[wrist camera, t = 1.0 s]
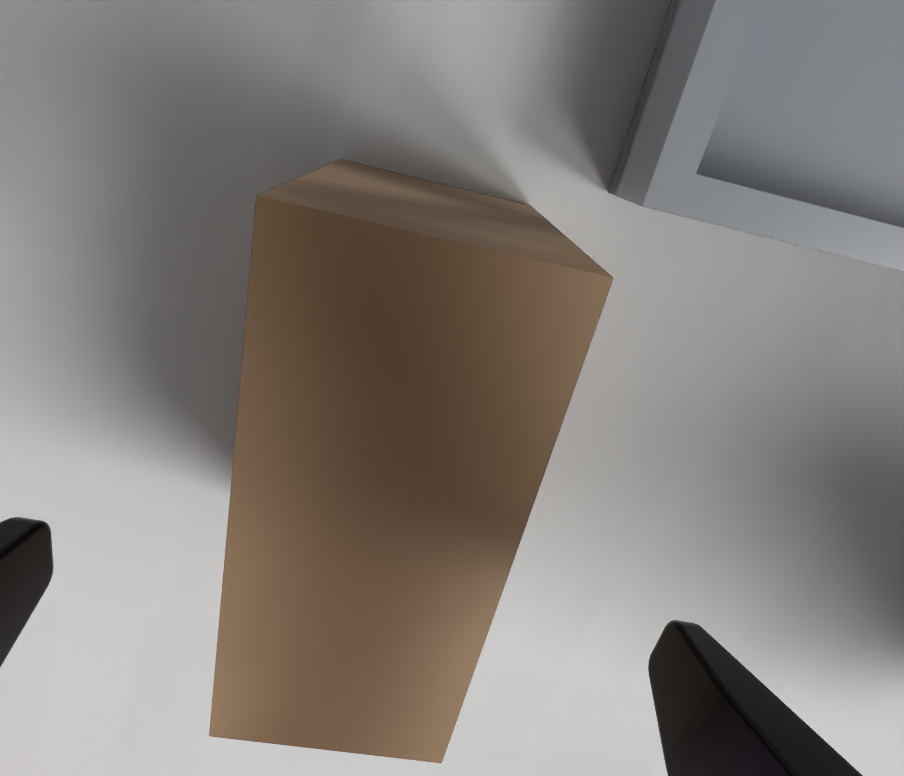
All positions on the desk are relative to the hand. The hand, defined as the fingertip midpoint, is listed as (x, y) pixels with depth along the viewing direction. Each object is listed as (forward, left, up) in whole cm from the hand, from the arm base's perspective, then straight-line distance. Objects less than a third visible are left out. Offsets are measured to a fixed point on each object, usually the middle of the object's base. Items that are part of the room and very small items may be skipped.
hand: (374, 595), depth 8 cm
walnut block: (0, 0, -8) cm, 8 cm away
